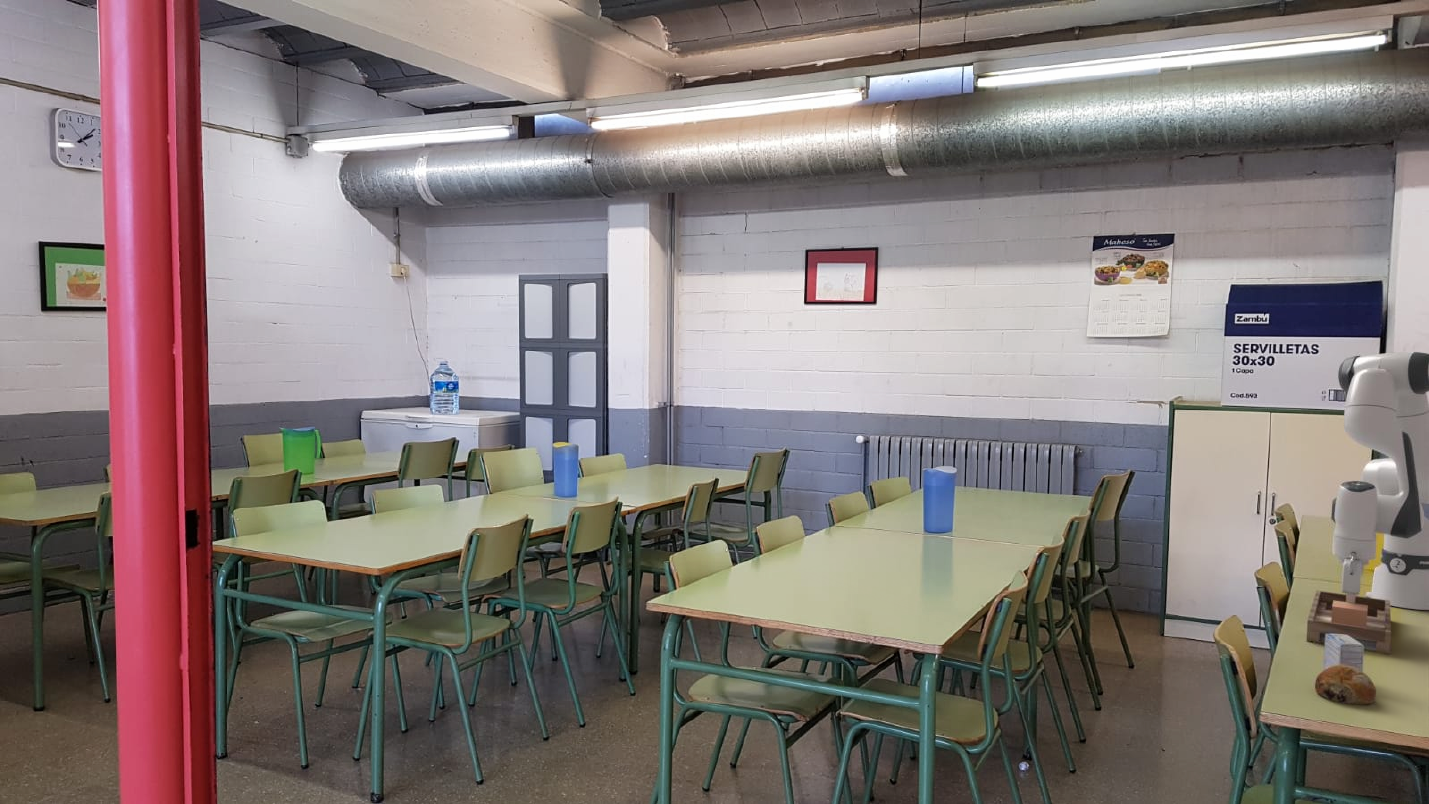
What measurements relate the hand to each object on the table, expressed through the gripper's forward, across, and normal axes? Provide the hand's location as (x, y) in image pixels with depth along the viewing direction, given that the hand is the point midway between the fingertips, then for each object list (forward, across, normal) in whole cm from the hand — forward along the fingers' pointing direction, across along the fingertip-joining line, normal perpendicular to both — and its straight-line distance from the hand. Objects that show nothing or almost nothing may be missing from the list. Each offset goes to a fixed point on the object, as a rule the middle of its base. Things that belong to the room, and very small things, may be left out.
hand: (1350, 605), depth 241 cm
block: (+4, -5, 0) cm, 6 cm away
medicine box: (+6, -46, 0) cm, 46 cm away
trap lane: (+6, 0, 0) cm, 6 cm away
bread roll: (+6, -58, -1) cm, 58 cm away
